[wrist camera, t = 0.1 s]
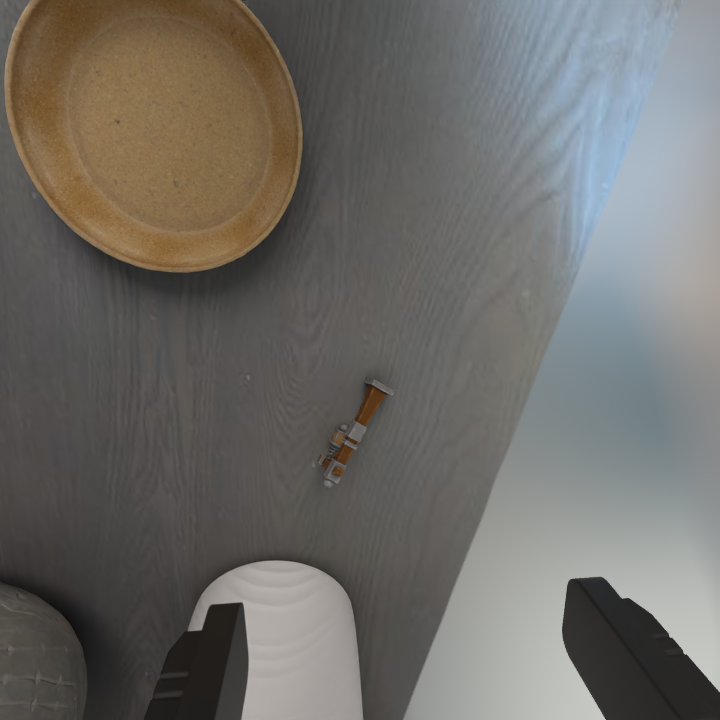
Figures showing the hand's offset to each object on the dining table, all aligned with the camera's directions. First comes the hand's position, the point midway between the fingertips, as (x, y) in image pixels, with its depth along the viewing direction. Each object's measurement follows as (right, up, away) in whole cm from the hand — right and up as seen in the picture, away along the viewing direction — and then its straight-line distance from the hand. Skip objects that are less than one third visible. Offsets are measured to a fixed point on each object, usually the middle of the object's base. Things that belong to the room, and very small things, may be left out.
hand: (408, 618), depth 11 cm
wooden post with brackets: (-2, +2, +24) cm, 24 cm away
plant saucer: (-12, +19, +15) cm, 27 cm away
